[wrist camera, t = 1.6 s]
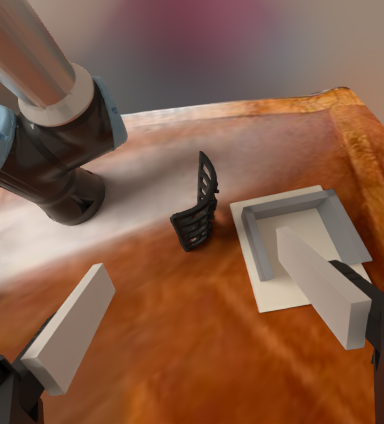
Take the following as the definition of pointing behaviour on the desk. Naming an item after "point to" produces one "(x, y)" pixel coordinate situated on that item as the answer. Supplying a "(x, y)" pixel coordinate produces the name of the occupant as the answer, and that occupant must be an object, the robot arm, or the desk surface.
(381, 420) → the robot arm
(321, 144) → the desk surface
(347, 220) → the bay
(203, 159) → the holder
